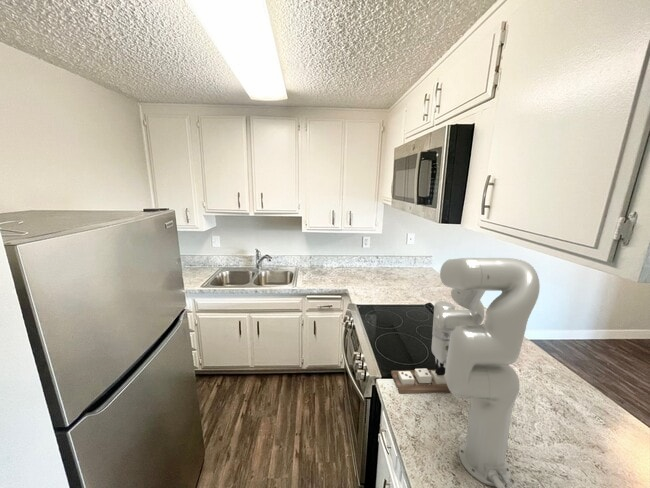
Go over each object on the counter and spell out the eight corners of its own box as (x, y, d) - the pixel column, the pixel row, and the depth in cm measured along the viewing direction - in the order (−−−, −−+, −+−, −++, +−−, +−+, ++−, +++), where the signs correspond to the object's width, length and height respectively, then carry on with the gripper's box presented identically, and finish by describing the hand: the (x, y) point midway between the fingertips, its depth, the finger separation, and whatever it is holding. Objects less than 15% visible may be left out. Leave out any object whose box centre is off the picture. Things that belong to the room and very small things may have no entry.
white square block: (414, 385, 105) (414, 378, 104) (401, 386, 105) (402, 379, 104) (409, 377, 110) (410, 370, 109) (398, 377, 109) (398, 371, 109)
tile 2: (431, 382, 105) (431, 375, 104) (419, 383, 105) (419, 376, 104) (426, 374, 110) (426, 368, 109) (414, 375, 109) (414, 368, 109)
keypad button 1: (448, 385, 105) (448, 377, 104) (435, 385, 105) (436, 378, 104) (442, 376, 110) (442, 370, 109) (430, 377, 110) (431, 370, 109)
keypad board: (457, 392, 102) (457, 389, 101) (399, 393, 101) (399, 390, 101) (442, 372, 114) (443, 369, 113) (391, 373, 113) (391, 370, 113)
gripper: (462, 342, 97) (458, 386, 99) (442, 324, 111) (440, 363, 114) (442, 342, 96) (439, 386, 99) (425, 324, 111) (423, 363, 114)
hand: (439, 373), depth 107 cm, fingers closed
